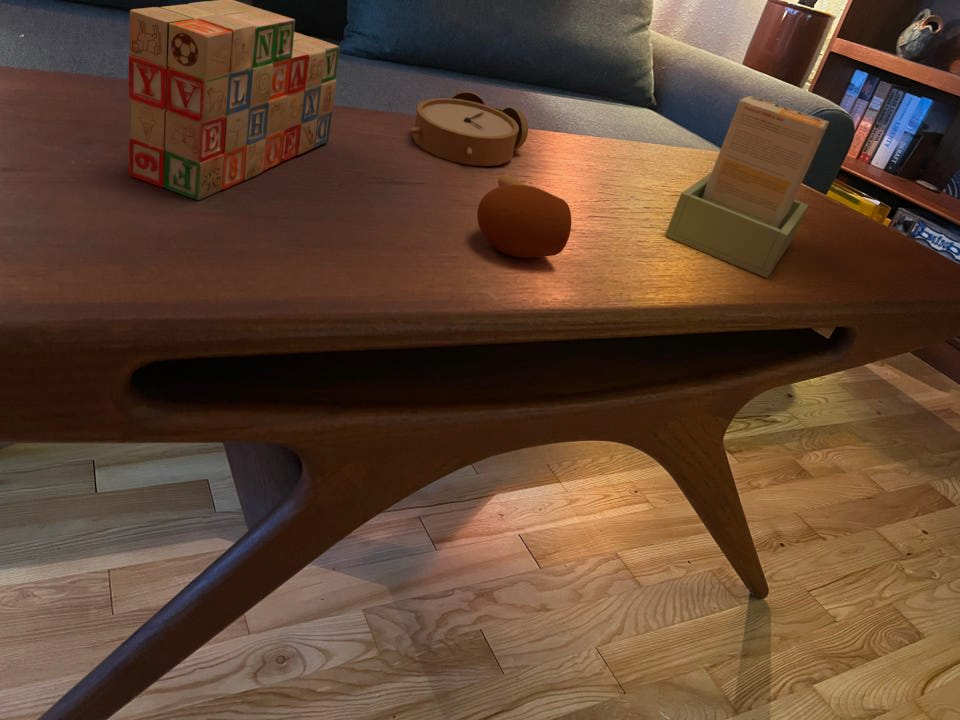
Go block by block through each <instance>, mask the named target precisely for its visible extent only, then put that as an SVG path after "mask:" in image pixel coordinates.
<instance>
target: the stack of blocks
mask: <svg viewBox="0 0 960 720" xmlns="http://www.w3.org/2000/svg"><path fill="white" fill-rule="evenodd" d="M295 27H296V19H294V18H291V17H289V16H285V15H282V14H279V13H275V12H272V11H269V10H265V9H262V8H259V7H255V6H251V5H249V4H247V3H244V2H241V1H237V0H207V1H196V2H189V3H187V4H186V3H185V4H176V5H167V6H166V5H165V6H160V7H159V6H152V7H143V8H133V9H130V10H129V51H130V52H129V53H130V54H129V55H128V83H127V84H128V98H129V140H128V141H129V142H128V143H129V144H128V148H129V149H128V152H129V154H128V155H129V159H128V160H129V162H128V166H129V168H128V172H129V176H131V177H132V178H136V179H138V180H141V181H143V182H147V183H148V184H152V185H155V186H157V187H160V188H165V189H166V190H169V191H172V192H173V193H177V194H179V195H182V196H184V197H187V198H190V199H193V200H195V201H200V200H203V199H205V198H207V197H209V196H211V195H214V194H216V193H218V192H220V191H225V190H226V189H229V188H231V187H234V186H235V185H238V184H240V183H242V182H244V181H246V180H248V179H251V178H254V177H256V176H258V175H260V174H262V173H263V172H264V171H267V170H268V169H270V168H272V167H274V166H277V165H279V164H281V163H283V162H286V161H287V160H289V159H292V158H294V157H296V156H299V155H302V154H304V153H306V152H309V151H311V150H312V149H314V148H317V147H320V146H321V145H322V146H323V145H324V144H326V143H328V142H329V139H330V132H331V124H332V118H333V110H334V106H335V105H334V104H335V99H336V89H337V83H338V82H337V79H336V77H337V72H338V65H339V57H340V49H341V46H339V45H337V44H335V43H331V42H328V41H325V40H323V39H319V38H316V37H313V36H308V35H305V34H302V33H300V32H296V31H295Z"/></svg>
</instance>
